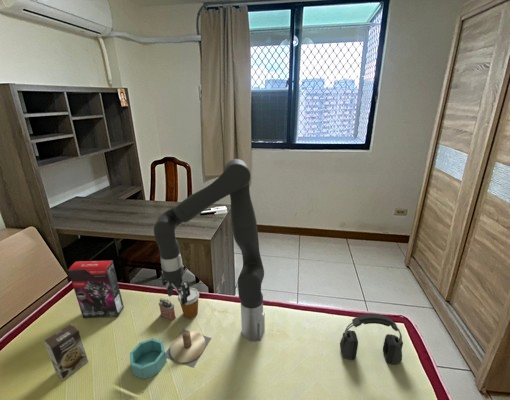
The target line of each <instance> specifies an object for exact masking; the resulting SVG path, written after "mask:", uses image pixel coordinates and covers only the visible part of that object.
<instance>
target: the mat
mask: <svg viewBox="0 0 510 400" xmlns="http://www.w3.org/2000/svg"><path fill="white" fill-rule="evenodd" d="M186 331H189V332H191V330H188V329H184V328H183V329H182V330H181V331H180V333H179V335H181V334H183V333H184V332H186ZM179 335H178V336H179ZM201 335H202V336H203V337H204V339H205V349H204V351H205V350H206V348H207V347H208V345H209V343H210V341H211V340H212V337H209V336H207V335H203V334H201ZM165 355H166V359H168V360H171V361H174V362H176V361H175V360H174V359H173V358H172V357H171V354H170V346H169V348H168V349H167V350H165ZM202 355H203V353H202V354H201V355H200V356H199V357H198V358H197V359H195V360H193V361H191V362H187V363H181V362H178V363H180V364H183V365H185V366H188V367H191V368H195V366H196V364H197V363H198V362H199V359H200V358H201V356H202Z"/></svg>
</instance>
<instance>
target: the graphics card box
mask: <svg viewBox="0 0 510 400" xmlns="http://www.w3.org/2000/svg"><path fill="white" fill-rule="evenodd" d="M115 269H116V268H115V266H114V261H113V260H112V259H111V260H89V261H88V260H85V261H84V260H79V261H74V263H73V264H71V266H70V267H69V268H68V269H67V271H68V274H69V277H70V281H71V284H72V288H73V290H74V294H75V296H76V300H77V302H78V303H77V304H78V306H79V309H80V312H81V317H82V318H83V319H91V318H93V319H95V318H116V317H117V318H118V317H119V316H120V315H121V314H122V312H123V310H124V308H125V306H124V302H123V299H122V293H121V290H120V287H119V282H118V278H117V274H116V270H115Z"/></svg>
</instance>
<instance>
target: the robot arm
mask: <svg viewBox="0 0 510 400" xmlns="http://www.w3.org/2000/svg"><path fill="white" fill-rule="evenodd" d="M250 180H251V170H250V167H249V165H248V164H247V163H246V162H245V161H244V160H242V159H239V158H234V159H231V160H229V161H228V162H227V163H226V164H225V166H224V168H223V172H222V173H221V174H220V175H219V176H218V177H217V178H216V179H215V180H214V181H213V182H211V183H210V184H209V185H207V186H206V187H204V188H202V189H200V190H198V191H196V192H194V193H192V194H191V195H188V197H186V198H185V199H184V200H182V201H181V202H180V203H177V205H176V206H173V207H171V208H170V209H167V210H166V211H165V212H163V213H162V214H160V216H159V217H158V218H157V220H156V222H155V223H154V226H153V235H154V238H155V240H156V244H157V245H158V250H159V253H160V254H159V256H160V264H161V266H160V267H161V270H162V273H161V274H160V276H161V277H160V278H161V283H162V286H163V287H164V286H165V289H166V290H167V295H168V297H171V296H173V295H174V290H175V292H176V293H177V294H178V295H179V294H180V296H181V302H182V305H185V304H186V303H187V302H188V301H187V297H188V296H190V295H191V294H190V289H189V288H190V284H189V282H188V281H186V282H184V280H183V276H184V273H185V272H184V266H183V259H182V255H181V250H180V249H181V248H180V244H179V241H178V239H176V234H175V233H176V231H175V230H176V229H177V227H179V226H180V225H181V224H182V223H188V222H190V221H191V220H193V219H194V218H196V217H197V216H198V215H200V214H201V213H202V212H204V211H205V210H207V209H208V208H210V207H211V206H212V205H214V204H215V203H217V202H219V201H220V200H222V199H224V198H225V197H227V196H229V197H230V218H231V219H230V220H231V221H230V222H231V227H232V235H233V238H234V242H235V243H236V245H237V246H238V248H239V249H240V251H241V255H242V268H241V271H240V274H239V275H238V278H237V291H238V292H237V293H238V298H239V300H240V318H241V320H240V323H241V334H242V338H244V339H246V341H247V340H248V341H249V342H255V341H260V342H261V340H262V338H263V335H264V333H265V328H266V327H265V326H266V324H265V323H266V321H265V316H266V315H265V312H264V294H263V293H262V283H263V282H264V281H263V280H264V279H265V278H264V277H265V268H264V266H263V261H262V258H261V253H260V252H261V251H260V242H259V231H258V224H257V218H256V213H255V210H254V206H253V205H254V204H253V201H252V198H251V194H250V192H251V191H250ZM181 291H182V292H183V294H182V293H181Z"/></svg>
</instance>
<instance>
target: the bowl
mask: <svg viewBox="0 0 510 400" xmlns="http://www.w3.org/2000/svg"><path fill="white" fill-rule="evenodd" d="M165 353H166V350H165V345H164V341H162V340H160V339H156V338H153V337H152V338H149V339H146V340H143V341H141V342H139V343H137V345H136V346H135V347H134V348H133V349H132V350H131V351H130V352H129V364H130V369H131V372H132V375H133V376H136V377H137V378H139V379H142V380H145V379H146V378H147V379H148V378H151V377H153V376H155V375H158V374H159V372H161V370H162V369H163V368H164V366H165V364H166V363H167V358H166V355H165Z"/></svg>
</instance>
